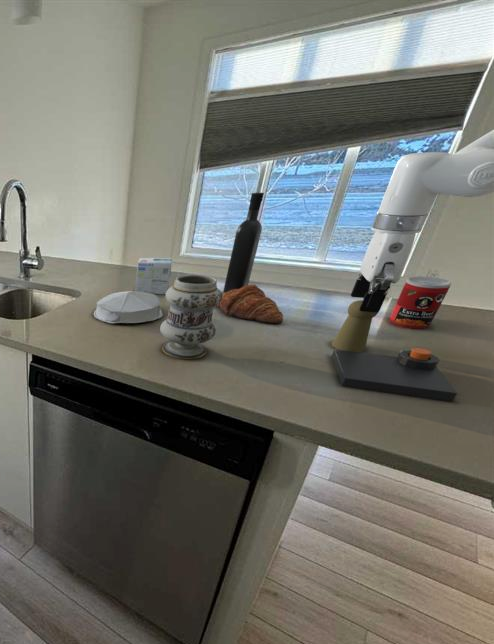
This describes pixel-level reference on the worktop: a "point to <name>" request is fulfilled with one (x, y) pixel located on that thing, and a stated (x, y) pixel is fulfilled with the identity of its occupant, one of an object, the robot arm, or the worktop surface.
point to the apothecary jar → (190, 315)
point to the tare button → (420, 354)
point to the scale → (393, 374)
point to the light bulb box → (153, 275)
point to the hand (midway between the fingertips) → (363, 304)
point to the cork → (354, 329)
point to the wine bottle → (245, 247)
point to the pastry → (250, 305)
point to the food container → (128, 307)
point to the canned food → (419, 302)
